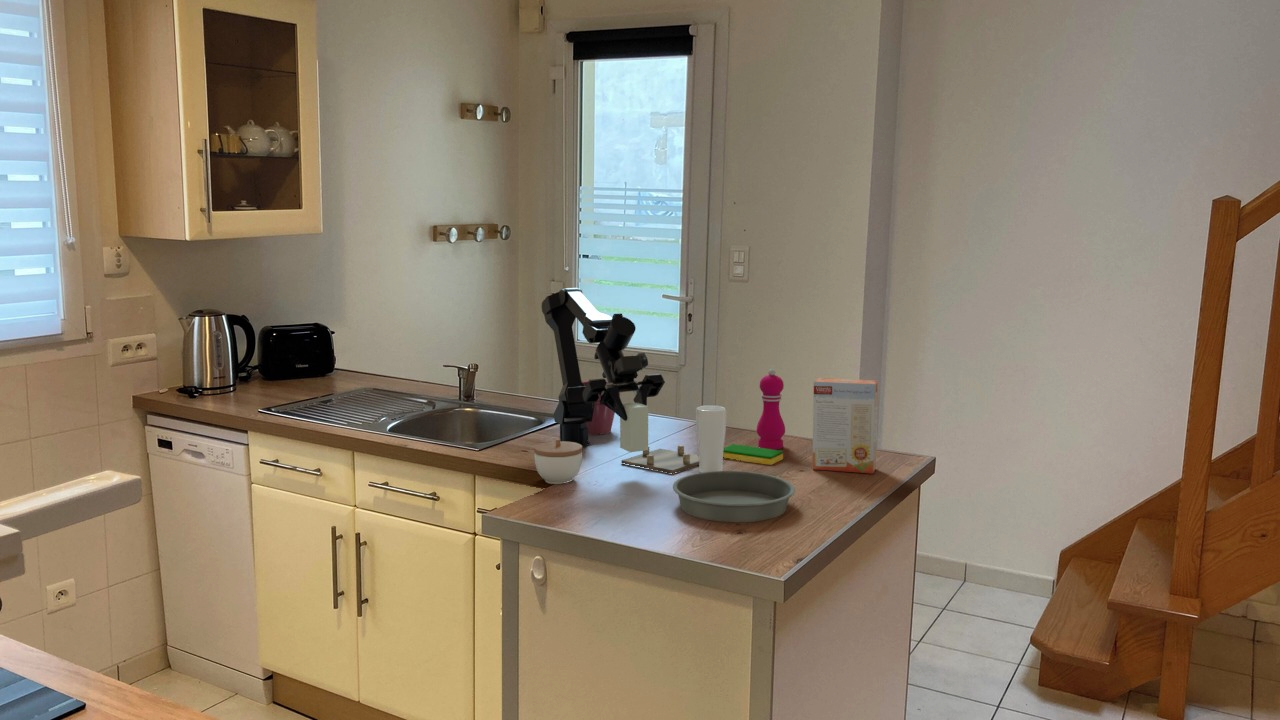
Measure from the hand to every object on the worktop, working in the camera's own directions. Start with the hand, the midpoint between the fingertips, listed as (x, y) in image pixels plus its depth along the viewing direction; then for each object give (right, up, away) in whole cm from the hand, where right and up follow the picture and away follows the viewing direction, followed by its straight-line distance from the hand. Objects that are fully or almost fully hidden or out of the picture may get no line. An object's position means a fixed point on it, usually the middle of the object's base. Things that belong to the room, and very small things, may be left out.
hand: (635, 418), depth 223 cm
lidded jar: (-17, -14, -1) cm, 22 cm away
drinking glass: (+17, -13, +6) cm, 22 cm away
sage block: (0, -7, +2) cm, 7 cm away
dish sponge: (+28, -11, +19) cm, 36 cm away
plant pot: (-11, -7, +49) cm, 51 cm away
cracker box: (+48, -12, +8) cm, 50 cm away
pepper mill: (+34, -9, +30) cm, 46 cm away
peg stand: (+7, -11, +14) cm, 20 cm away
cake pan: (+20, -17, -21) cm, 33 cm away
